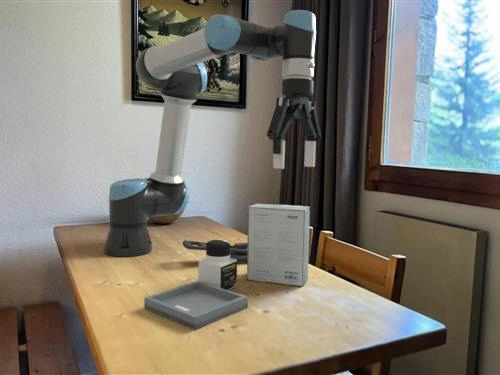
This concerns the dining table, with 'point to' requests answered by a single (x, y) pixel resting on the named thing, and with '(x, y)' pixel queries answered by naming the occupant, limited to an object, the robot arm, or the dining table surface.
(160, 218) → the clay pot
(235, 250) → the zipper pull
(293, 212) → the hard drive box
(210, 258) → the medicine bottle
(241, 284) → the dining table surface
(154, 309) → the tray
